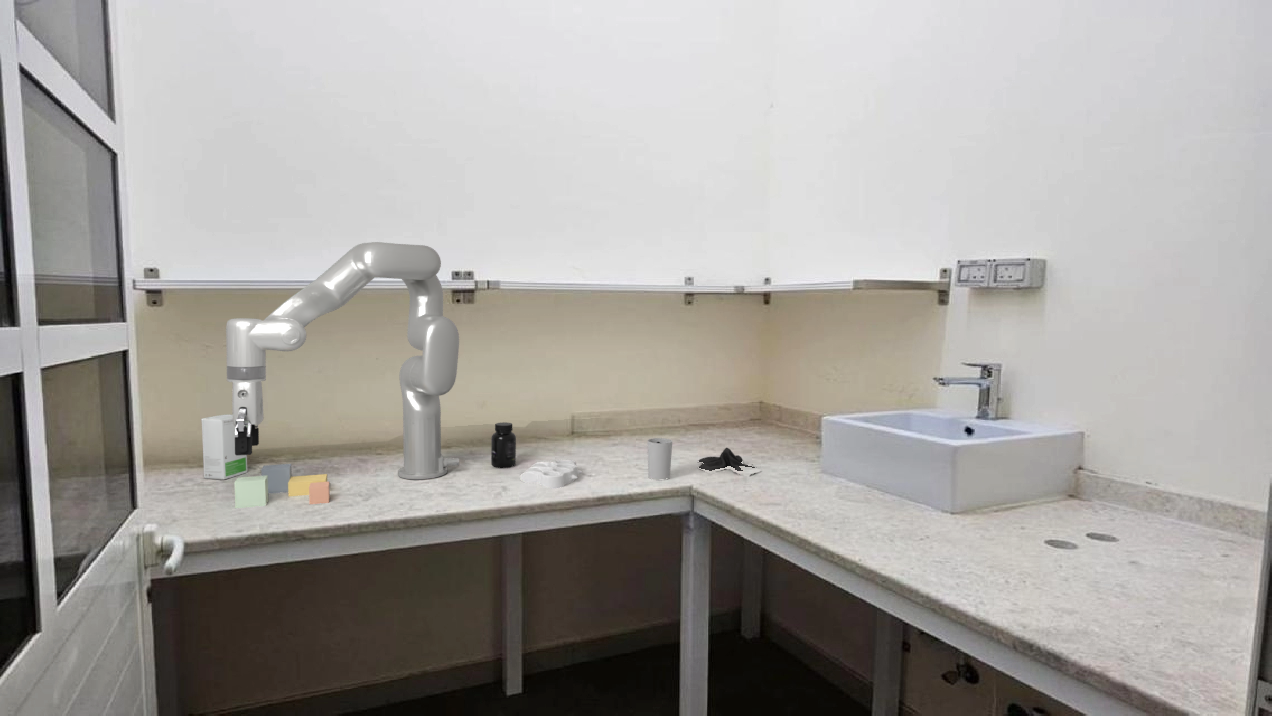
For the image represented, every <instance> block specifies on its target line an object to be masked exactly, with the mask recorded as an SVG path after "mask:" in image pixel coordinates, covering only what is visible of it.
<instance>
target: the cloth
mask: <svg viewBox="0 0 1272 716" xmlns="http://www.w3.org/2000/svg"><path fill="white" fill-rule="evenodd" d="M698 461H699V462H703V463H704V464H703V463H701V464H700V465H699V466H698V467H699V468H701V469H705V470H709V471H712V470H715V469H720V468H725V467H727V466H731V467H733V468H735V470H737V471H743V470H741V468H740V467H739V466H745V467H752V466H748V465H747V464H745V463H744V464H742V463H741V462H742V461H743V462H744V460H743V458H742V456H740V455H735V454H734V452H733V451H732V450H731V449H730V448H729V447H725V448H724V450H723V451H722V452H721V453H720V455H719V456H706V457H703V458H699V460H698ZM699 462H698V463H699ZM755 467H756V466H753V467H752V468H755Z"/></svg>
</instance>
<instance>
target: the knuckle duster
mask: <svg viewBox="0 0 1272 716" xmlns="http://www.w3.org/2000/svg"><path fill="white" fill-rule="evenodd" d="M582 473H583V471H582V470H580V469H578V466H577V461H575V460H573V459H568V458H567V459H557V460H554V461H546V460H545V461H543V460H542V461H536V462H535V463H533V464H532V465H531V466H530V467H528V468H526V470H525V471H524V472H523V473H521V474H520V477H519V479H520V481H521V482H523V483H525V484H535V485H536V484H538V485H540V486H541V487H542V488H545V487H546V488H545V489H561V488H564V487H565V485H568V484H572V483H574V482H575V480H576V479H579V477H578V475H580V474H582ZM560 487H561V488H560Z"/></svg>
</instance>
